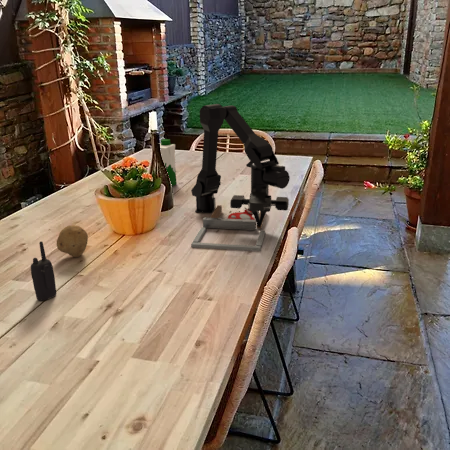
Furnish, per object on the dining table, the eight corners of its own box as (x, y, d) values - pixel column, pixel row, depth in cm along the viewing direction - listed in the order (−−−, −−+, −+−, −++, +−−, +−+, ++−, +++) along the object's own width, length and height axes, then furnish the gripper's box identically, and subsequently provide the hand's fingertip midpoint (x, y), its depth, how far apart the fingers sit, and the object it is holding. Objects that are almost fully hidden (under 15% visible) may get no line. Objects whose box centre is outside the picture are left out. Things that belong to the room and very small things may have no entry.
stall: (209, 226, 164) (209, 219, 163) (217, 211, 178) (217, 205, 177) (261, 228, 161) (261, 221, 160) (265, 213, 174) (265, 207, 174)
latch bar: (203, 227, 162) (202, 219, 161) (204, 225, 164) (204, 217, 163) (255, 230, 159) (255, 221, 158) (256, 228, 160) (256, 219, 159)
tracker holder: (258, 225, 161) (229, 219, 160) (254, 235, 164) (226, 230, 162) (255, 206, 171) (228, 201, 170) (252, 216, 174) (225, 211, 172)
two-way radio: (53, 290, 123) (43, 238, 118) (62, 296, 121) (53, 242, 115) (33, 299, 119) (23, 245, 114) (43, 305, 117) (32, 249, 111)
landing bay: (191, 247, 148) (191, 244, 147) (201, 230, 161) (201, 227, 160) (259, 251, 144) (259, 248, 143) (264, 233, 157) (264, 230, 156)
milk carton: (179, 183, 213) (177, 139, 206) (168, 189, 206) (165, 143, 198) (163, 181, 217) (160, 138, 210) (151, 186, 210) (148, 142, 202)
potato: (58, 264, 138) (53, 233, 134) (59, 252, 146) (54, 222, 142) (90, 260, 140) (86, 229, 136) (90, 249, 148) (86, 219, 144)
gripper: (227, 188, 147) (227, 234, 153) (287, 190, 144) (285, 237, 150) (232, 178, 157) (233, 222, 163) (289, 180, 154) (288, 224, 160)
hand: (259, 226), depth 159 cm, fingers closed
